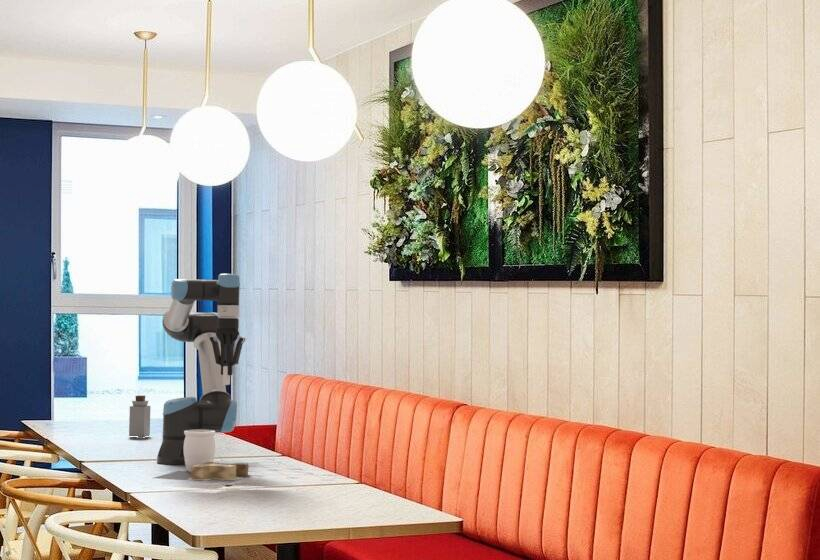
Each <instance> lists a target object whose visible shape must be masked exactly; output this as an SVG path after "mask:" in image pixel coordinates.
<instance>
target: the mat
mask: <svg viewBox="0 0 820 560" xmlns="http://www.w3.org/2000/svg"><path fill="white" fill-rule="evenodd" d="M252 476H253V475H252V474H248V476H247V477H236V478H233V479H218V478H206V479H203V480H201V479H191V471H188V470H176V471H172V472H169V473H166V474H162V475H158V476H154V477H153V479H161V480H176V481H177V480H178V481H179V480H180V481H194V482H208V483H209V482H210V483H223V484H224V483H227V484H226V485H224V487H230V488H231V487H232V486H234V485H233V484H230V483H233V482H236V481H239V480H242V479H246V478H249V477H252Z"/></svg>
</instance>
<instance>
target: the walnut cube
mask: <svg viewBox="0 0 820 560" xmlns="http://www.w3.org/2000/svg"><path fill="white" fill-rule="evenodd" d="M233 465H236V477H246V478H248V477H247V476H248V475H249V462H235V463H234V464H233Z"/></svg>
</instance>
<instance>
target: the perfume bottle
mask: <svg viewBox="0 0 820 560" xmlns="http://www.w3.org/2000/svg"><path fill="white" fill-rule="evenodd" d="M131 403H132V406H131V405H130V406H129V421H128V422H129V426H128V427H129V428H128V437H129V436H138V437H145V436H149V435H150V434H151V405H148V403H149V400H146V395H141V394H140V395H139V394H138V395H135V400H132V401H131Z"/></svg>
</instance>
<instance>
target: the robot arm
mask: <svg viewBox="0 0 820 560" xmlns="http://www.w3.org/2000/svg"><path fill="white" fill-rule="evenodd" d="M170 286H171V287H170V288H171V290H170V296H171V299H172V301H171V304H170V306H169V309H168V310H167V311H166V312H165V313H164V315H163V317H162V322H161V323H162V326H163V329H164V332H166V334H167V335H168V336H169V337H170V338H172V339H174V340H175V341H179V342H182V343H193V347H195V349H196V350H198V360H199V367H200V368H199V369H200V370H199V371H200V377H201V387H202V388H201V389H202V395H201V396H200V399H199V400H197V398H196V396H195V397H194V396H187V397H186V396H185V397H179V398H173V399H172V398H171V399H168V400H166V401H165V402H164V404H163V409H162V416H163V417H162V422H163V423H162V441H161V445H160V446H159V447H160V448H159V449H158V450H159V451H158V453H157V457H156V462H157V464H160V465H172V466H173V465H174V466H177V465H178V466H179V465H180V466H181V465H184V466H185V458H184V440H185V437H186V435H185V434H184V431H185V430H195V429H205V430H214V431H215V434H216V433H220V434H223V433H231V432H232V431H233V430H234V429H235V425H236V421H237V412H238V403H237V401H236V400H234V399H232V397H231V394H230V393H228V392H227V388H226V386H230V385H231V376H233V371H234V370H233V369H234V366H235V365H238V364H239V360H240V356H241V352H242V348H243V345H244V343H245V341H246V337H243V336H242V335H240V331H239V326H240V325H239V321H240V320H239V318H238V317H240V286H241V283H240V275H239V274H236V273H220V274H219V275H218V277H217V279H197V278H196V279H195V278H194V279H193V278H192V279H191V278H175V279H173V280H172V282H171V285H170ZM196 301H209V302H213V301H214V302H215V301H216V302H217V312H213V311H210V312H201V311H200V312H197V311H192V309H193V307H194V304H195V302H196ZM235 342H236V345H235ZM234 348H235V349H234Z"/></svg>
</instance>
